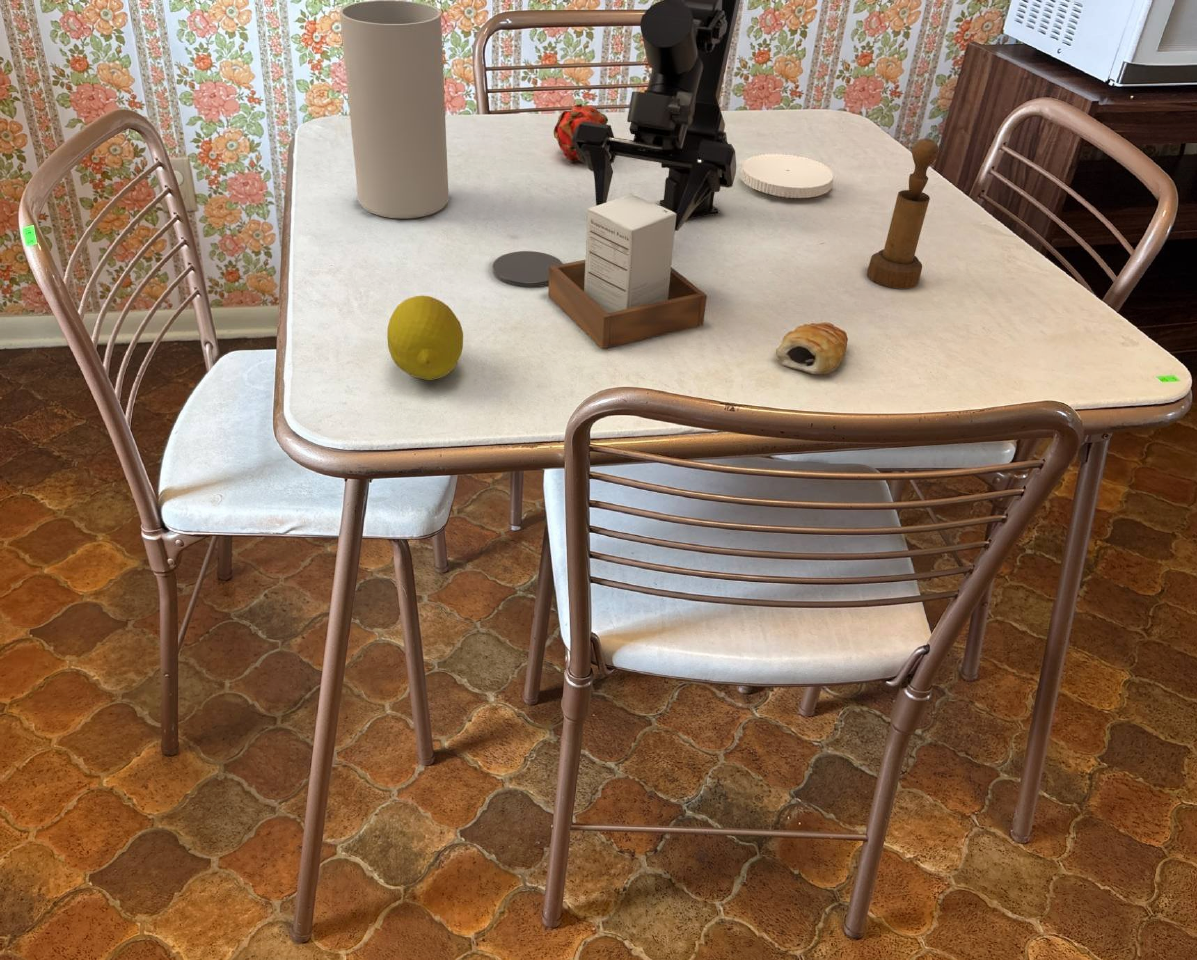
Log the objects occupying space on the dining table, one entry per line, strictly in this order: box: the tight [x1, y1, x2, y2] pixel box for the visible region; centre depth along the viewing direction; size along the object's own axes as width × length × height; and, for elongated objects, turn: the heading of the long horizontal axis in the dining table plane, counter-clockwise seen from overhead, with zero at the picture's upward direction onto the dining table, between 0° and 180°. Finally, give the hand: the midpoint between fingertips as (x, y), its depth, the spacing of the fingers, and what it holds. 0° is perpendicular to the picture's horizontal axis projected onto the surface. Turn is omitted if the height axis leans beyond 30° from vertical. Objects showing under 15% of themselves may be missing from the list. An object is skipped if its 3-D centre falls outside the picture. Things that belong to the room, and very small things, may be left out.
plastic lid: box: [740, 153, 835, 199], centre depth 152 cm, size 14×14×2 cm
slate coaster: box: [492, 250, 564, 288], centre depth 125 cm, size 9×9×1 cm
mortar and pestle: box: [866, 137, 940, 289], centre depth 123 cm, size 7×6×18 cm
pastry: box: [775, 322, 849, 375], centre depth 111 cm, size 9×7×4 cm
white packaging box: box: [584, 193, 676, 313], centre depth 114 cm, size 7×7×13 cm
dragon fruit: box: [553, 103, 609, 164], centre depth 155 cm, size 8×8×12 cm
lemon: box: [386, 295, 464, 381], centre depth 103 cm, size 11×8×8 cm
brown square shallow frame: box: [547, 259, 708, 350], centre depth 117 cm, size 14×14×4 cm
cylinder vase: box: [339, 0, 450, 220], centre depth 132 cm, size 12×12×25 cm
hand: (636, 222), depth 114 cm, fingers open, 9 cm apart
